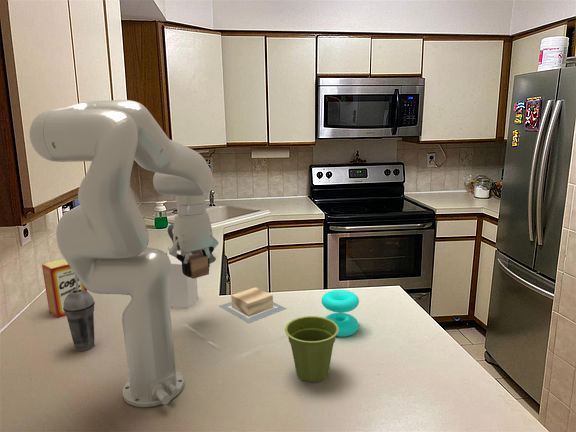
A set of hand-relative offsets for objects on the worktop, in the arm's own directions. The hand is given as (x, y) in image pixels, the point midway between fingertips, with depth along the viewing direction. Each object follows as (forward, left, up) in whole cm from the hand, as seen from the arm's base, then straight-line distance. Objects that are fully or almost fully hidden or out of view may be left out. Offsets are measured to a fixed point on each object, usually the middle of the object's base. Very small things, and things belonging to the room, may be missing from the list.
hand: (196, 272), depth 118 cm
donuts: (-30, -26, -16) cm, 43 cm away
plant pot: (-40, -6, -16) cm, 43 cm away
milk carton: (+15, -2, -16) cm, 22 cm away
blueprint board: (-3, -16, -15) cm, 23 cm away
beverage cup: (+9, +29, -16) cm, 34 cm away
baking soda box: (+37, +26, -16) cm, 48 cm away
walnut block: (0, 0, -1) cm, 1 cm away
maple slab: (-3, -16, -15) cm, 22 cm away
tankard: (+53, -24, -16) cm, 60 cm away
